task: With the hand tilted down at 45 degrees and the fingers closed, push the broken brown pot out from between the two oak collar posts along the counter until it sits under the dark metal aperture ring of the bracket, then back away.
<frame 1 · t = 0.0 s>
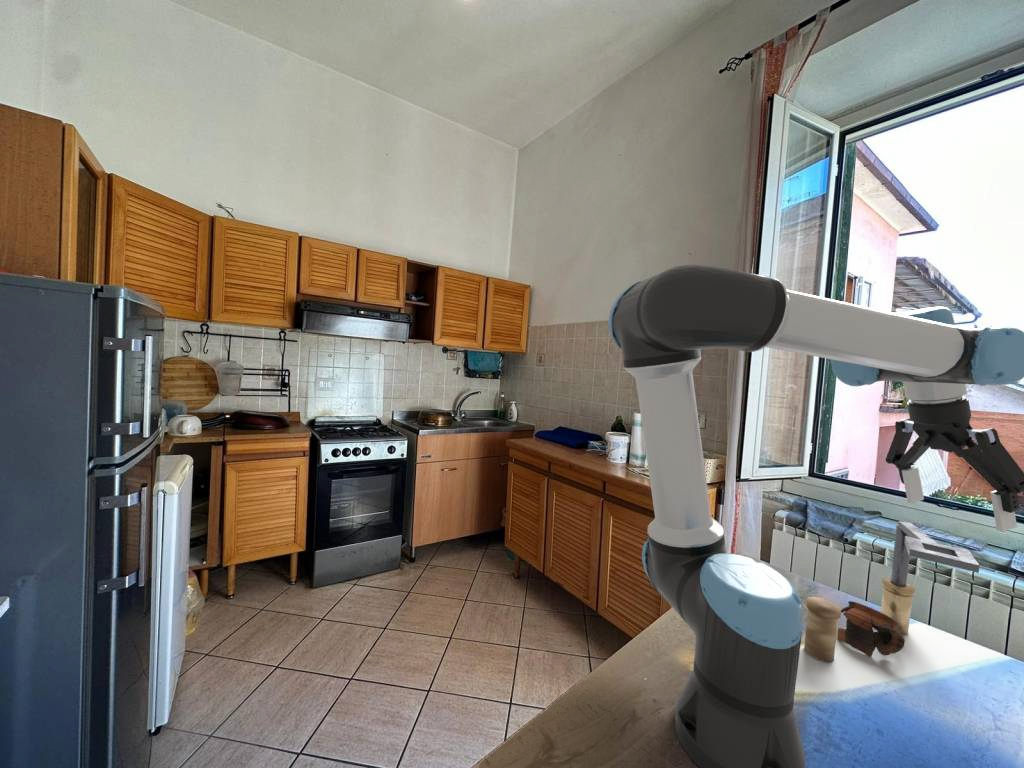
hand: (957, 513, 74), 28 cm above the table, tool tilted 20°, fingers open, 13 cm apart
oak collar post: (818, 653, 77), on the table
broken brown pot: (870, 648, 80), on the table
aperture bracket: (925, 675, 72), on the table
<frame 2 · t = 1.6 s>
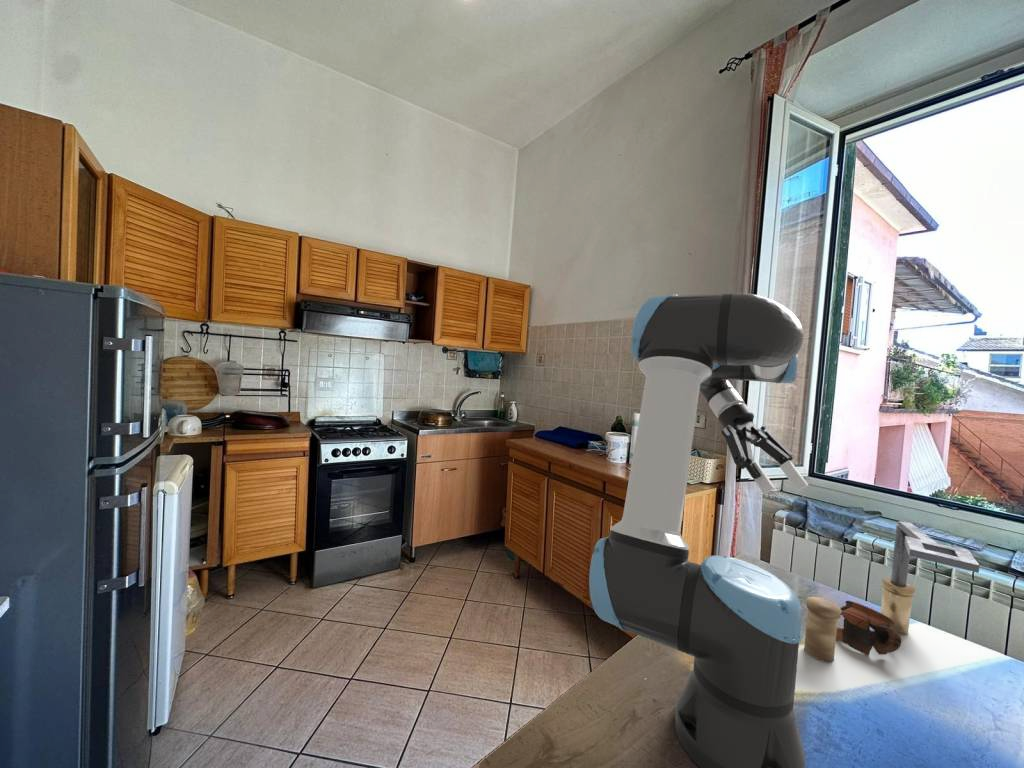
hand: (786, 489, 94), 25 cm above the table, tool tilted 45°, fingers open, 11 cm apart
nothing on the table moved.
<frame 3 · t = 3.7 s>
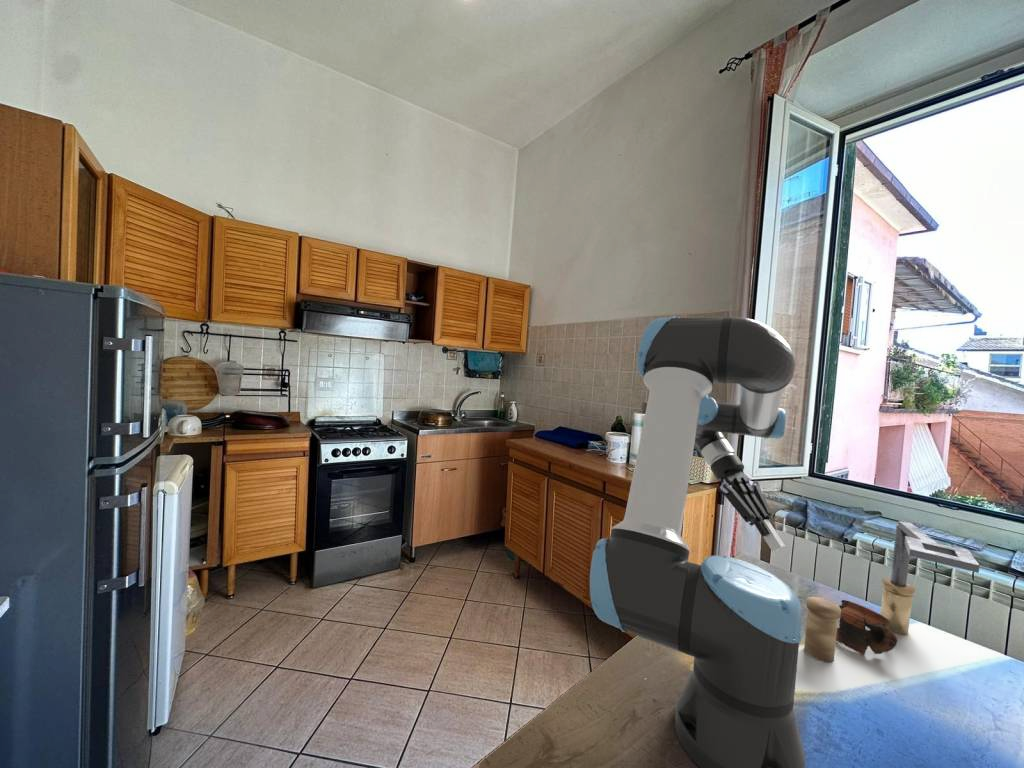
hand: (778, 548, 97), 11 cm above the table, tool tilted 45°, fingers closed
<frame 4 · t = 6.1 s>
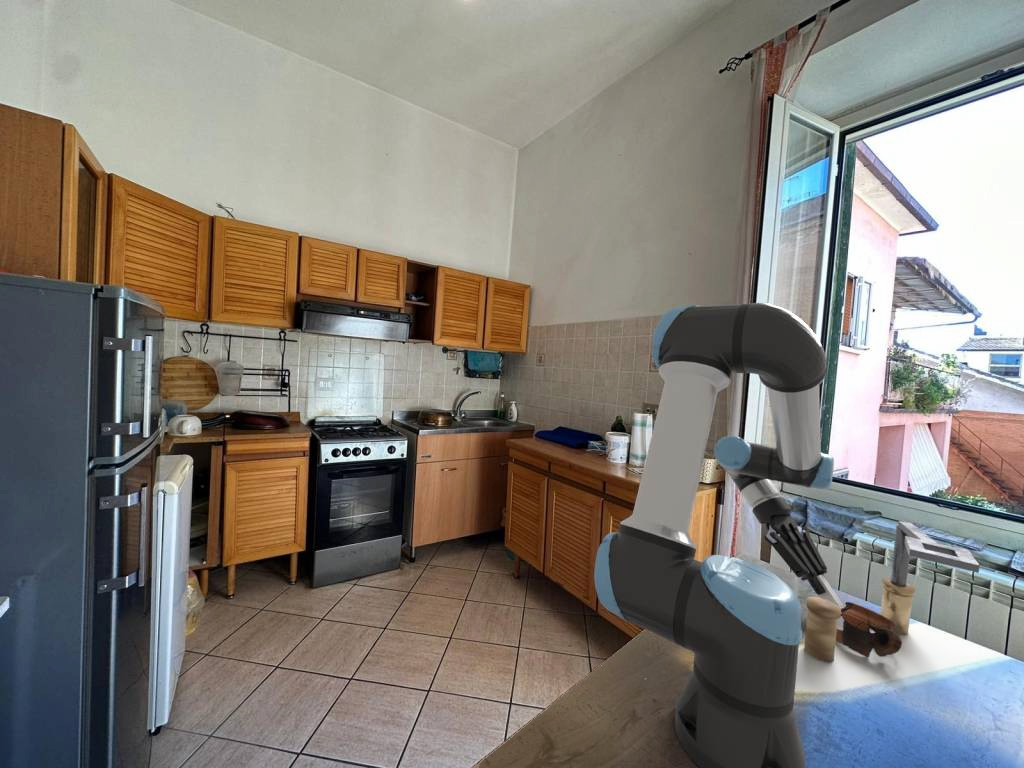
hand: (837, 610, 86), 3 cm above the table, tool tilted 45°, fingers closed
broken brown pot: (867, 649, 79), on the table, touching gripper
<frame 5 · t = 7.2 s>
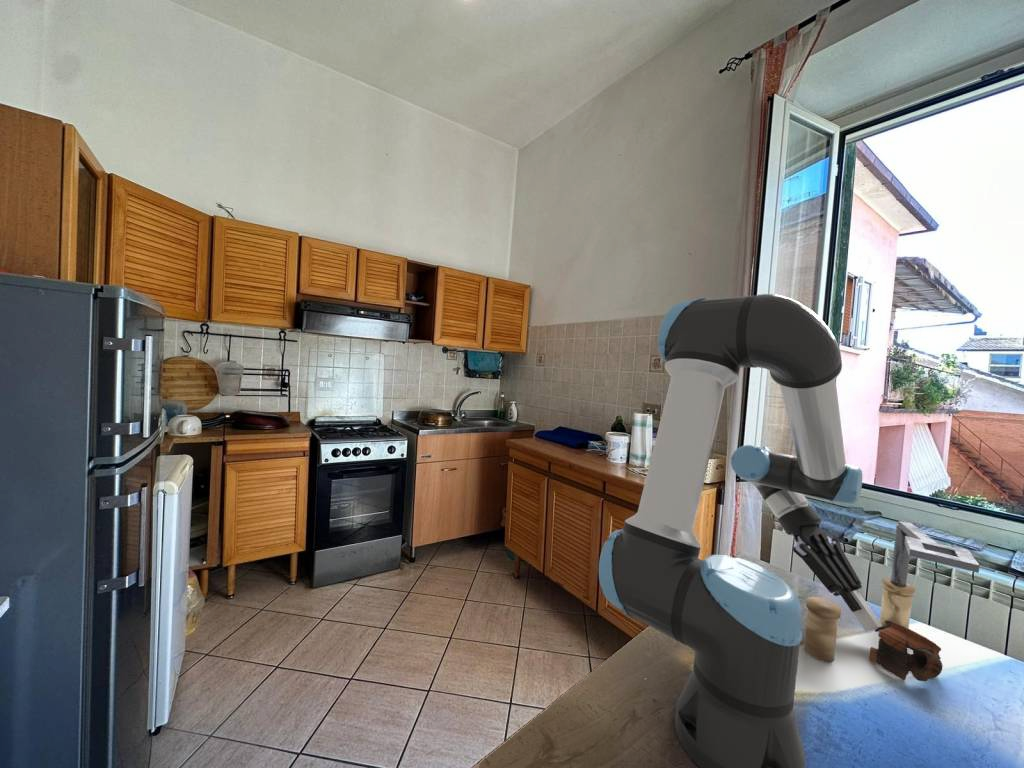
hand: (874, 628, 80), 3 cm above the table, tool tilted 45°, fingers closed
broken brown pot: (906, 672, 73), on the table, touching gripper
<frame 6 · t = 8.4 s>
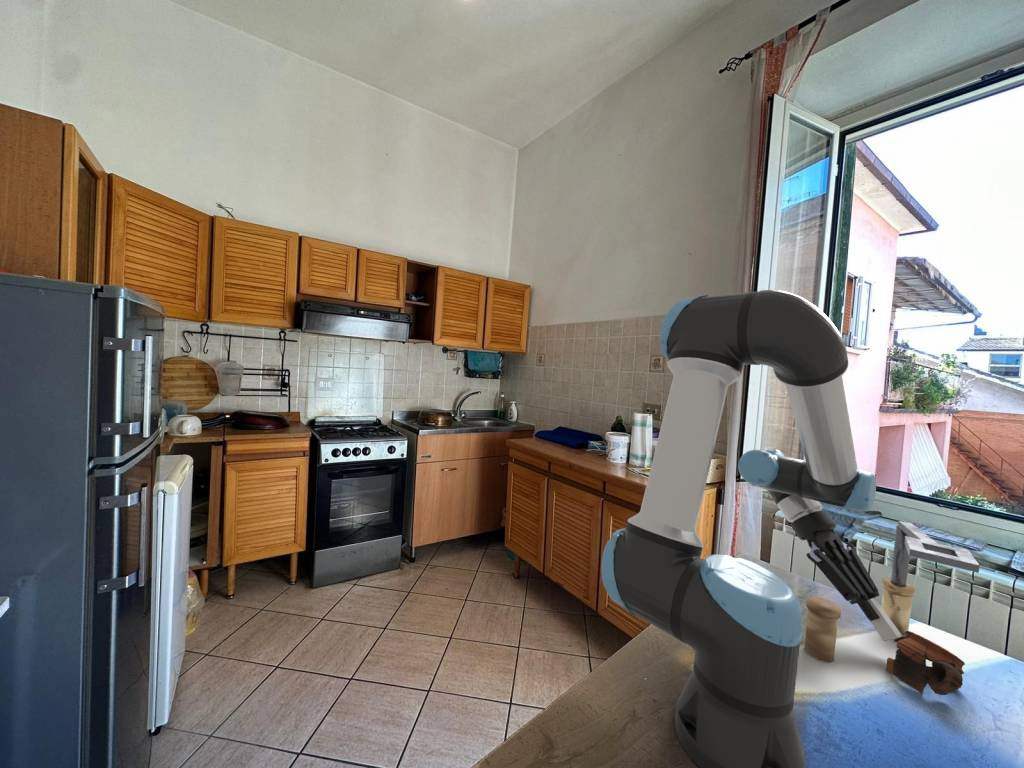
hand: (892, 638, 77), 4 cm above the table, tool tilted 45°, fingers closed
broken brown pot: (926, 685, 70), on the table, touching gripper
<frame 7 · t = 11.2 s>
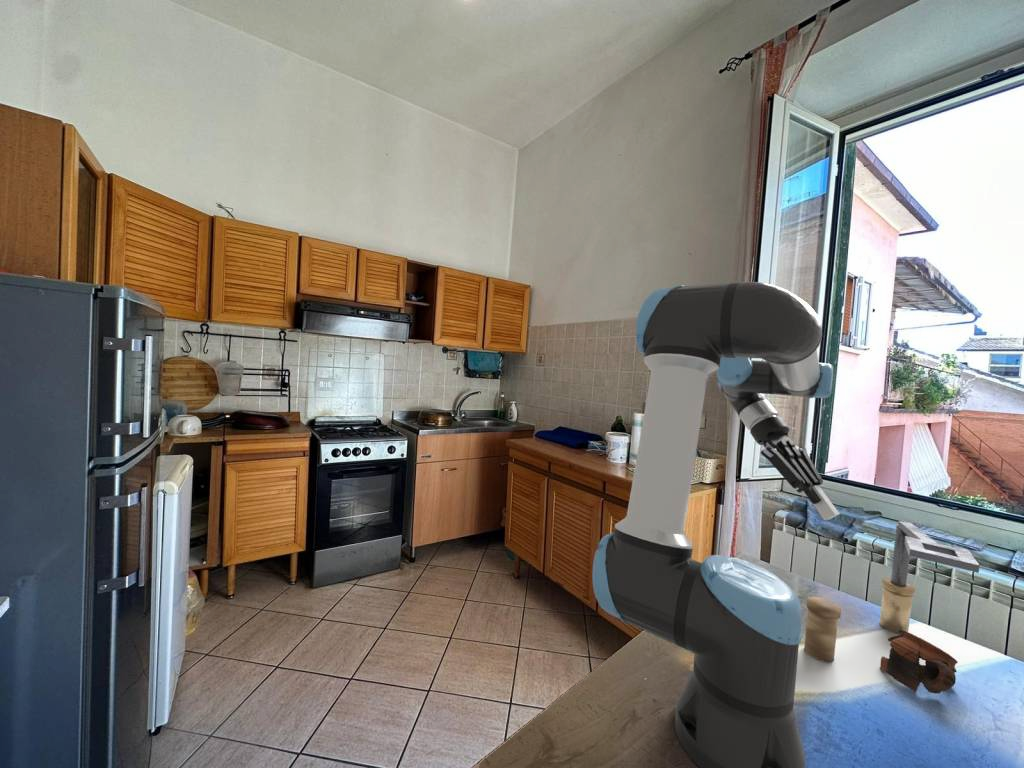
hand: (831, 517, 87), 22 cm above the table, tool tilted 45°, fingers closed
broken brown pot: (920, 684, 71), on the table
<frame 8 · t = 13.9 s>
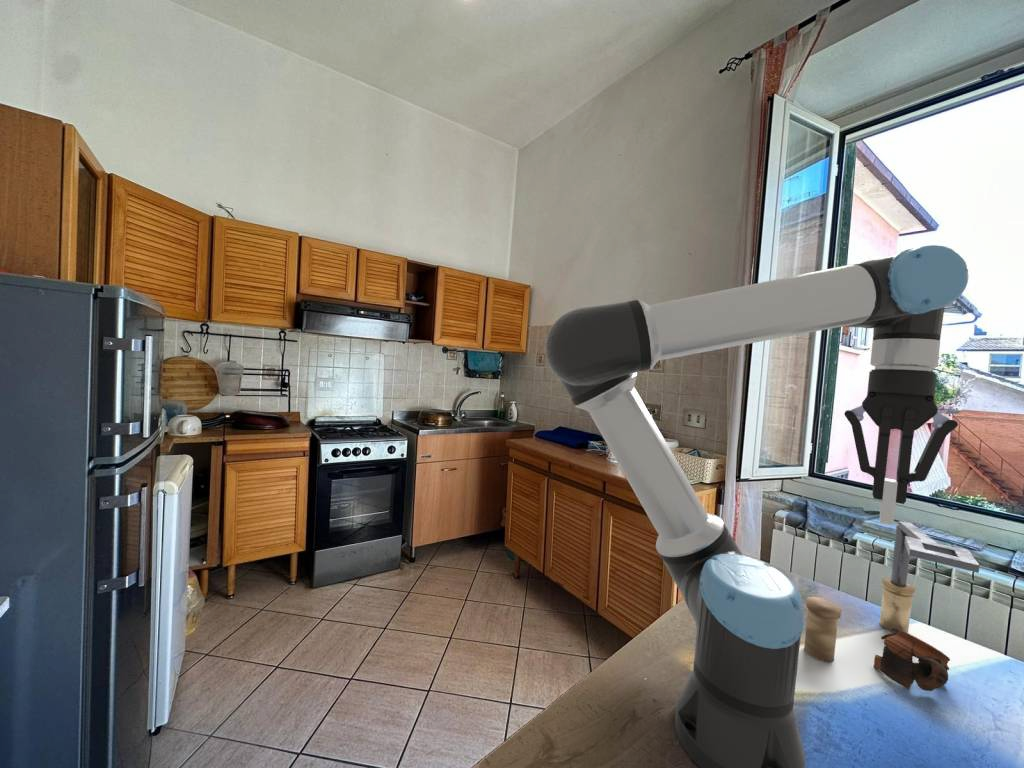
hand: (886, 521, 65), 28 cm above the table, tool pointing down, fingers closed
nothing on the table moved.
at the end: broken brown pot 3.6 cm from the aperture bracket (horizontally); broken brown pot tilted 0°; the gripper is holding nothing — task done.
